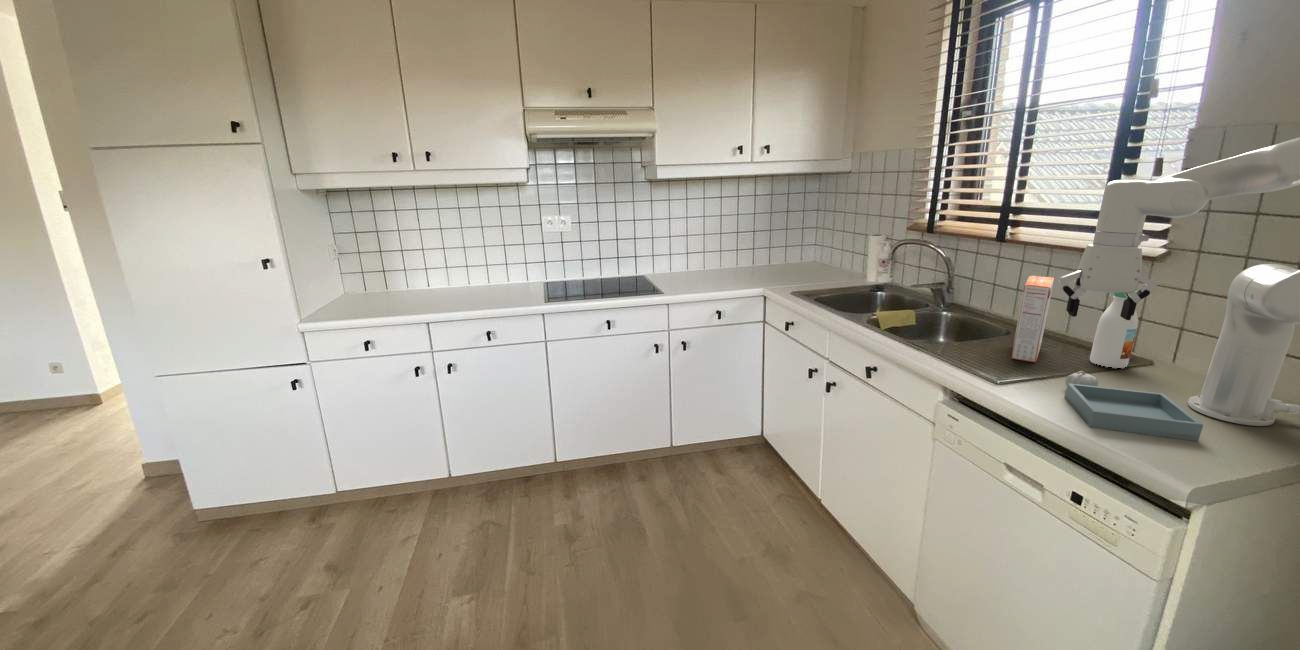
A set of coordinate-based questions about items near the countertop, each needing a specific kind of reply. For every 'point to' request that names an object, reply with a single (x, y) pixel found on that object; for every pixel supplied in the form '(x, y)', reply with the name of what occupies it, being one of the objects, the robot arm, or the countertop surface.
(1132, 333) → the milk bottle
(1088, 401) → the tray
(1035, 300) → the cracker box
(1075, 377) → the garlic
